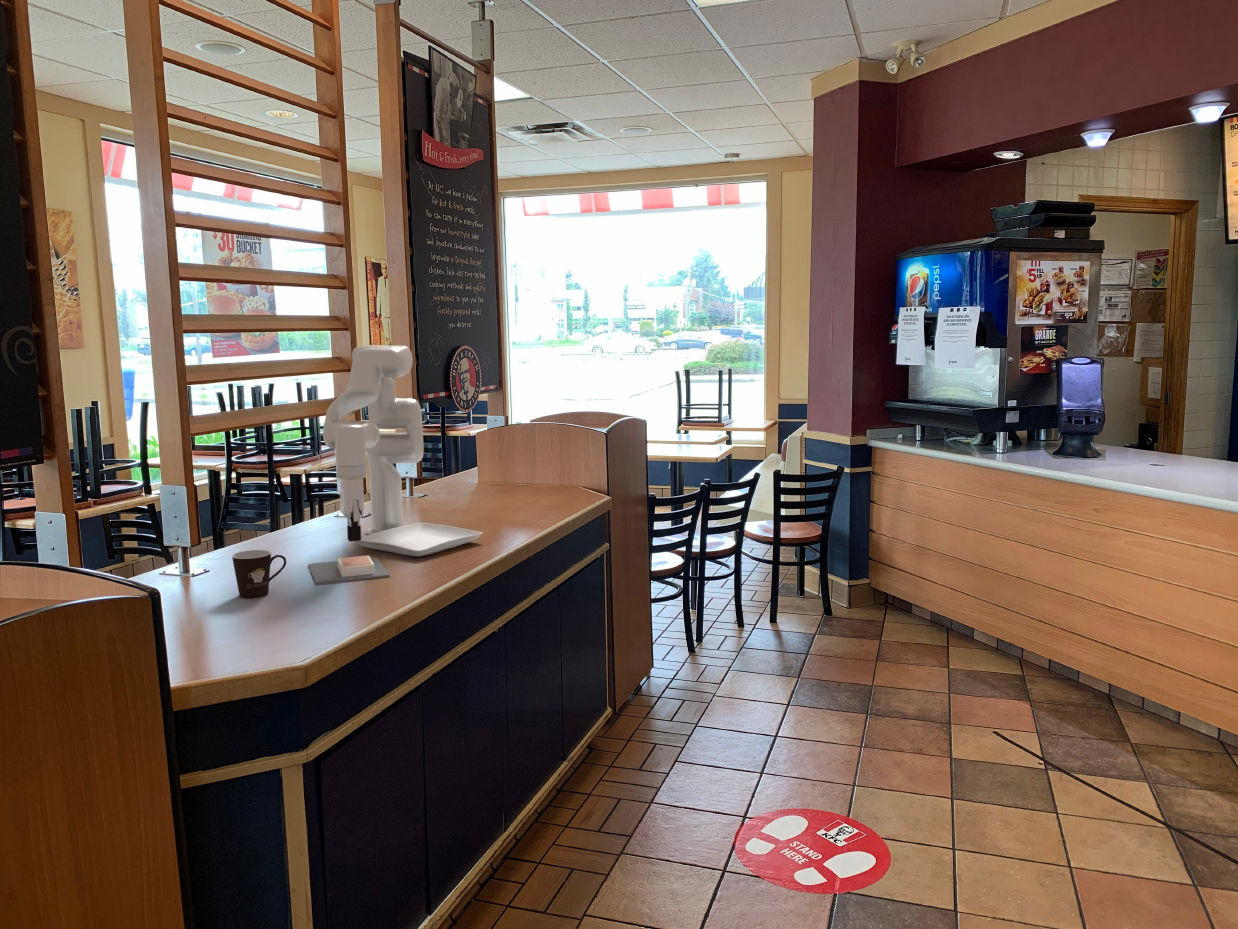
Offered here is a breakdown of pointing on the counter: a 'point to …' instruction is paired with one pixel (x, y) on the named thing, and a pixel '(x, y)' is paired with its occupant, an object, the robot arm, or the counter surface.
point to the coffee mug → (254, 572)
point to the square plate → (418, 539)
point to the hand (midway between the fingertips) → (354, 540)
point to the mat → (331, 573)
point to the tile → (355, 566)
